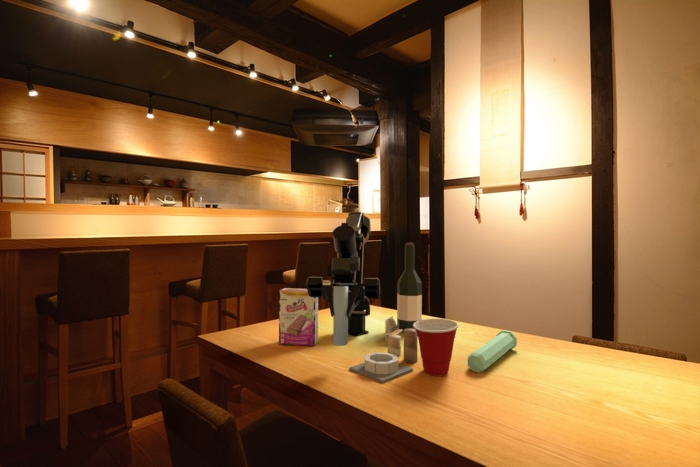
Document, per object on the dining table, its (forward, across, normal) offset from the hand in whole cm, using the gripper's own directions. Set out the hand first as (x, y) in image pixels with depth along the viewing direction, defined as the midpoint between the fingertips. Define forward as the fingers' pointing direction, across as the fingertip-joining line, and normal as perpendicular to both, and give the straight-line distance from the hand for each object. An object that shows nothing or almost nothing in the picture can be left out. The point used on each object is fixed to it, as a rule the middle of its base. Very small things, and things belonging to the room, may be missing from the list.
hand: (339, 316), depth 92 cm
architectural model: (-10, +12, +30) cm, 34 cm away
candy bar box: (-5, -16, +24) cm, 29 cm away
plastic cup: (+8, +23, +12) cm, 27 cm away
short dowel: (-1, +13, +20) cm, 24 cm away
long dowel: (+4, 0, +6) cm, 7 cm away
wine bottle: (-19, +18, +39) cm, 47 cm away
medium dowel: (+2, +17, +17) cm, 24 cm away
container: (0, +39, +20) cm, 44 cm away
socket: (+8, +10, +11) cm, 17 cm away
